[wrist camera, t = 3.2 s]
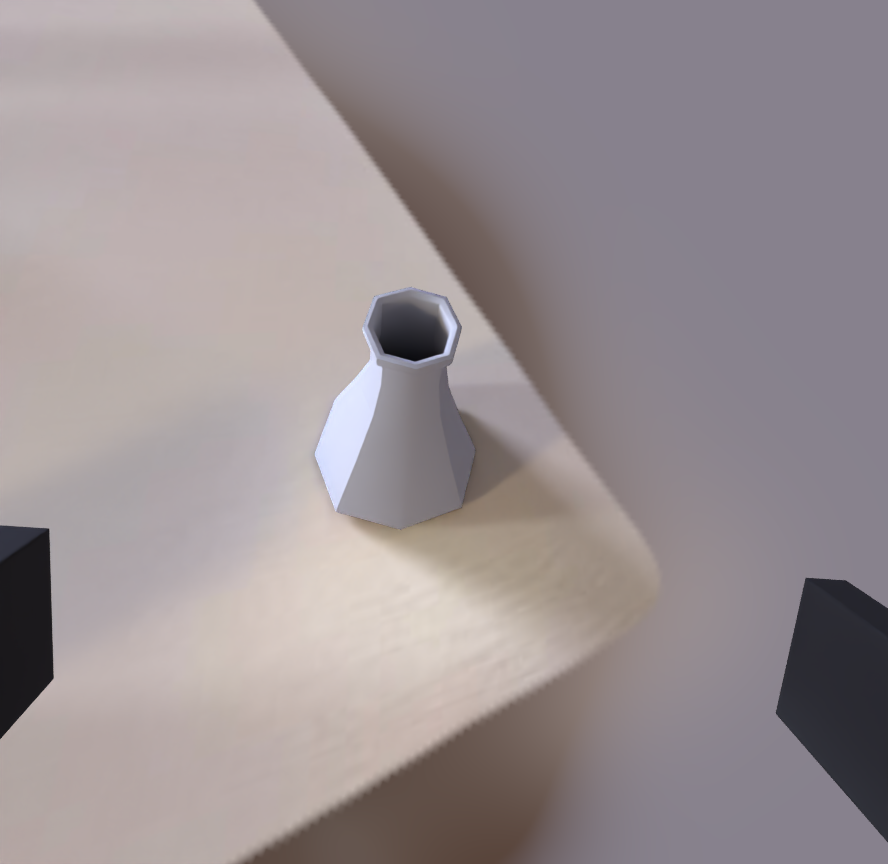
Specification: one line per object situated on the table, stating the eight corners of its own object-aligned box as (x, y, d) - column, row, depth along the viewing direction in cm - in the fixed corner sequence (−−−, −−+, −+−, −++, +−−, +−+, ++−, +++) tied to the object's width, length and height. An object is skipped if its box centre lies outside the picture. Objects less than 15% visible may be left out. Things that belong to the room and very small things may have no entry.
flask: (467, 385, 33) (509, 241, 24) (482, 528, 29) (538, 424, 21) (315, 386, 32) (299, 237, 23) (314, 534, 28) (295, 428, 20)
